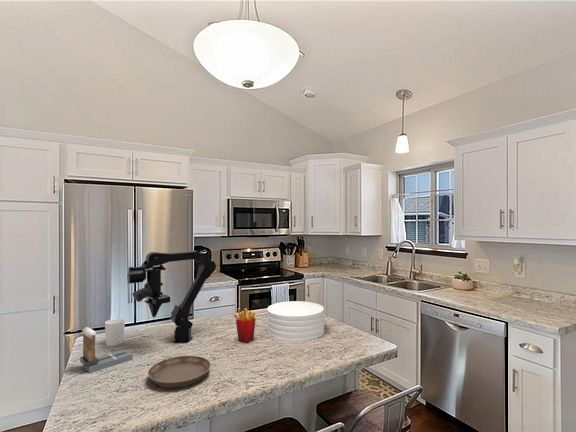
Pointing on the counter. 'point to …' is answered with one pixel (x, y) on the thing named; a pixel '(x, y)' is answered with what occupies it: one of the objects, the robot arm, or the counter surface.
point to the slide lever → (88, 347)
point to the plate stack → (295, 321)
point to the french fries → (245, 326)
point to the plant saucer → (179, 371)
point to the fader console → (110, 360)
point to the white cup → (114, 331)
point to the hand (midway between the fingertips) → (153, 316)
